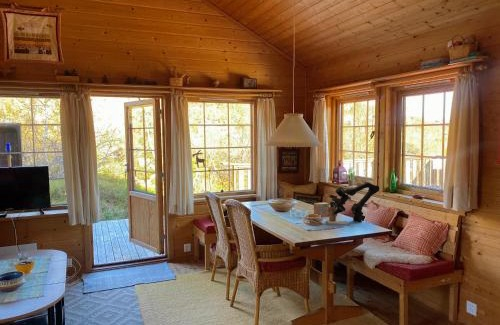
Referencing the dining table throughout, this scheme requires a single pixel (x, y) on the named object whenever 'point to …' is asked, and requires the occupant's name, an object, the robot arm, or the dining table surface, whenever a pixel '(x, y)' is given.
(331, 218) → the walnut pillar
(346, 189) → the robot arm
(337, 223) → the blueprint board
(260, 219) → the dining table surface
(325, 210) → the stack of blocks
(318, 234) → the dining table surface
